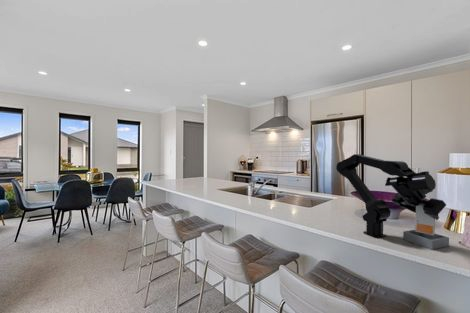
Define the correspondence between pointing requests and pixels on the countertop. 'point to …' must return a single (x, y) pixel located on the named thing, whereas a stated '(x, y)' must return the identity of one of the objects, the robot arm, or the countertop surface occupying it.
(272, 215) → the countertop surface
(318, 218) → the countertop surface
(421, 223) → the skincare box
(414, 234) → the tray
